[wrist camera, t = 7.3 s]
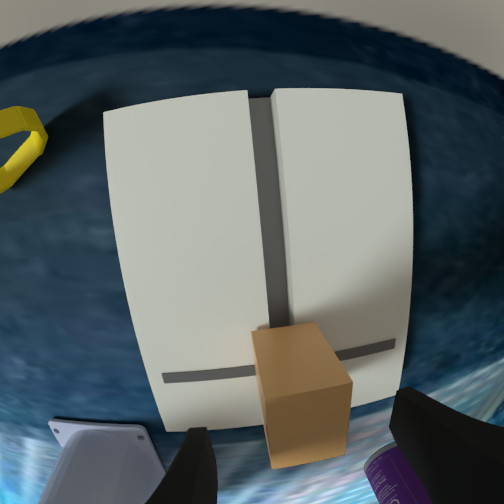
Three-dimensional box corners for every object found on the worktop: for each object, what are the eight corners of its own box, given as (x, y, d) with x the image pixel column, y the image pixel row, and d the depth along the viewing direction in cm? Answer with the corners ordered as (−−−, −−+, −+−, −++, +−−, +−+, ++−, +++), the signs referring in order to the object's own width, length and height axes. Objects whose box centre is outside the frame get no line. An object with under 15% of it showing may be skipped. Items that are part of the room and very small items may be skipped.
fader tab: (307, 372, 17) (344, 454, 10) (255, 380, 17) (271, 469, 10) (306, 309, 16) (353, 382, 10) (248, 317, 16) (264, 398, 9)
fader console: (384, 377, 18) (398, 395, 16) (170, 410, 17) (166, 432, 15) (383, 101, 15) (402, 93, 13) (117, 120, 14) (102, 111, 12)
